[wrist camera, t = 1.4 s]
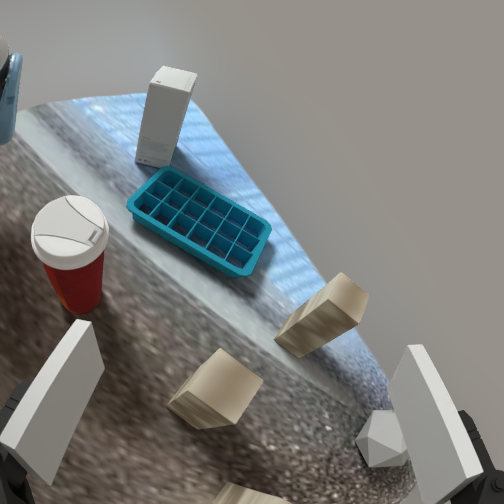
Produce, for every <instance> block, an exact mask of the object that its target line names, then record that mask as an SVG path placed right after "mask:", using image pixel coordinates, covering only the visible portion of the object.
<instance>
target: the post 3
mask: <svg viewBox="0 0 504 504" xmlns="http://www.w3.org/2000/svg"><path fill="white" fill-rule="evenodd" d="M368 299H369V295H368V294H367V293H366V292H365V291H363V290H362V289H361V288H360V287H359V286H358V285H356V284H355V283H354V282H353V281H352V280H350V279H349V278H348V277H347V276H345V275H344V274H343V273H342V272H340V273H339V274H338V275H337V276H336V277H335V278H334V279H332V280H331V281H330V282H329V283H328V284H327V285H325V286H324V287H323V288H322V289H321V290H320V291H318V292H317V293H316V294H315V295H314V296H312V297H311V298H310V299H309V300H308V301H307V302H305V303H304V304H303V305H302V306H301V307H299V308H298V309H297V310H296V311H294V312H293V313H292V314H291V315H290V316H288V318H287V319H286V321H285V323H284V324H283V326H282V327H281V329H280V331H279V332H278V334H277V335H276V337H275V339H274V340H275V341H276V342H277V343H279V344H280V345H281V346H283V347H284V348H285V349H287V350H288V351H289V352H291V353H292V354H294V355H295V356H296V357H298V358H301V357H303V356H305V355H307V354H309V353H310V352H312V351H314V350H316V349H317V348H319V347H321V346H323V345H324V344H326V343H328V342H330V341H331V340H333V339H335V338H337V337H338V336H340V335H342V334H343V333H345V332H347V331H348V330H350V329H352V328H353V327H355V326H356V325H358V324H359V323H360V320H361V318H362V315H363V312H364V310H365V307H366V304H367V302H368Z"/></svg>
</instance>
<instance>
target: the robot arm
mask: <svg viewBox="0 0 504 504" xmlns="http://www.w3.org/2000/svg"><path fill="white" fill-rule="evenodd" d="M21 69H22V55H21V54H19V53H17V54H16V53H11V54H10V55H9V47H8V43H7V41H6V39H5V38H4V37H3V36H2V35H0V145H4V144H6V143H8V142H9V141H10V140H11V138H12V137H13V134H14V130H15V122H16V113H17V102H18V94H19V85H20V77H21ZM104 369H105V367H104V364H103V361H102V358H101V354H100V351H99V347H98V344H97V340H96V337H95V333H94V329H93V326H92V322H89V321H84V320H79V319H76V321H75V322H74V323H73V325H72V326H71V327H70V329H69V330H68V332H67V333H66V334H65V336H64V337H63V338H62V340H61V341H60V343H59V344H58V345H57V347H56V348H55V350H54V351H53V353H52V354H51V355H50V357H49V358H48V360H47V361H46V363H45V364H44V366H43V367H42V369H41V370H40V372H39V373H38V375H37V376H36V378H35V379H34V381H33V382H29V381H27V380H25V381H24V382H23V383H21V384H20V385H19V386H17V387H16V388H15V390H14V391H13V393H12V394H11V396H10V399H8V401H7V402H6V404H5V407H3V409H2V410H1V412H0V504H35V501H34V498H33V496H32V493H31V489H30V486H29V483H28V481H27V479H26V475H27V472H28V473H29V474H30V475H31V476H32V477H33V478H34V479H35V480H37V481H40V482H42V483H44V484H46V485H48V486H50V487H51V485H52V483H53V480H54V478H55V475H56V473H57V470H58V468H59V465H60V463H61V461H62V458H63V456H64V454H65V451H66V449H67V447H68V444H69V442H70V440H71V438H72V436H73V433H74V431H75V429H76V427H77V425H78V422H79V420H80V418H81V416H82V414H83V412H84V410H85V407H86V405H87V403H88V401H89V399H90V397H91V395H92V393H93V391H94V389H95V387H96V385H97V383H98V381H99V379H100V377H101V375H102V373H103V371H104ZM387 391H388V393H389V396H390V399H391V402H392V405H393V408H394V410H395V413H396V416H397V419H398V422H399V425H400V428H401V431H402V434H403V437H404V440H405V443H406V447H407V450H408V453H409V456H410V460H411V463H412V466H413V470H414V473H415V476H416V480H417V483H418V487H419V491H420V494H421V498H422V502H423V504H444V503H445V502H447V501H448V500H450V501H451V504H504V472H503V471H500V470H496V469H495V468H494V466H493V464H492V461H491V459H490V456H489V454H488V452H487V450H486V448H485V445H484V443H483V441H482V439H480V437H481V436H480V434H479V432H478V431H477V428H476V426H475V424H474V422H473V419H472V418H471V417H470V416H469V415H468V414H467V413H466V412H465V411H464V410H462V411H458V412H457V410H456V408H455V406H454V404H453V402H452V400H451V398H450V396H449V394H448V392H447V390H446V388H445V386H444V384H443V382H442V380H441V378H440V376H439V374H438V372H437V370H436V369H435V367H434V365H433V363H432V361H431V359H430V358H429V356H428V354H427V353H426V351H425V349H424V347H423V345H408V346H407V348H406V350H405V352H404V354H403V357H402V359H401V361H400V363H399V365H398V367H397V369H396V371H395V373H394V376H393V377H392V379H391V381H390V383H389V385H388V387H387Z"/></svg>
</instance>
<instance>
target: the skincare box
mask: <svg viewBox="0 0 504 504" xmlns="http://www.w3.org/2000/svg"><path fill="white" fill-rule="evenodd" d="M197 76H198V74H195V73H192V72H188V71H183V70H179V69H174V68H170V67H166V66H162V67H161V69H160V70H159V71H158V72H156V73H155V76H154V78H153V79H152V80H151V82H150V84H149V89H148V93H147V98H146V102H145V107H144V112H143V117H142V122H141V128H140V133H139V139H138V145H137V151H136V157H135V162H137V163H141V164H145V165H149V166H153V167H157V168H161V167H164V166H170V163H171V160H172V157H173V154H174V151H175V148H176V145H177V141H178V138H179V134H180V131H181V127H182V124H183V121H184V117H185V114H186V111H187V108H188V104H189V101H190V98H191V95H192V91H193V88H194V85H195V82H196V79H197Z"/></svg>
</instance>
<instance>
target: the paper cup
mask: <svg viewBox="0 0 504 504" xmlns="http://www.w3.org/2000/svg"><path fill="white" fill-rule="evenodd" d="M108 238H109V226H108V223H107V220H106V218H105V216H104V215H103V213H102V212H101V210H100V209H99V207H98V206H97V205H96V204H95V203H93V202H92V201H90V200H89V199H87V198H84V197H80V196H73V195H71V196H65V197H61V198H58V199H56V200H53V201H51V202H50V203H48V204H47V205H46V206H45V207H44V208H42V209H41V210H40V212H39V213H38V214H37V216H36V218H35V221H34V223H33V225H32V232H31V243H32V247H33V250H34V252H35V254H36V255H37V257H38V258H39V259H40V260H41V261H42V263H43V265H44V268H45V270H46V272H47V275H48V277H49V279H50V281H51V283H52V285H53V287H54V289H55V291H56V293H57V295H58V297H59V299H60V301H61V303H62V304H63V306H64V307H65V308H66V309H67V310H69V311H70V312H73V313H76V314H84V313H88V312H90V311H92V310H93V309H94V308H95V307H96V306H97V305H98V303H99V301H100V297H101V289H102V274H103V260H104V249H105V247H106V245H107V242H108Z"/></svg>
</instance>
